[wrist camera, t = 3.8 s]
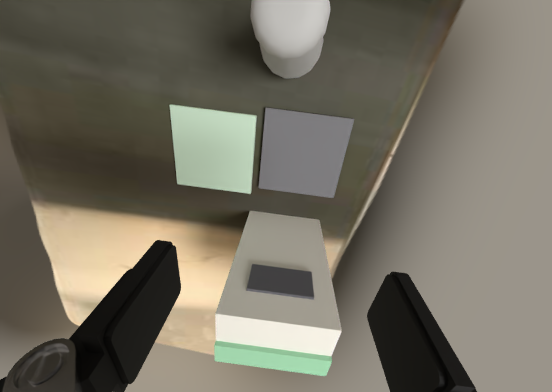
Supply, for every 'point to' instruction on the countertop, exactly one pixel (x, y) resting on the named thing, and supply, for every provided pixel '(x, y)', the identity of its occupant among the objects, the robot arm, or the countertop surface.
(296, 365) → the block
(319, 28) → the salt shaker
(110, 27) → the countertop surface
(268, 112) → the grey pad
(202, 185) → the green pad
